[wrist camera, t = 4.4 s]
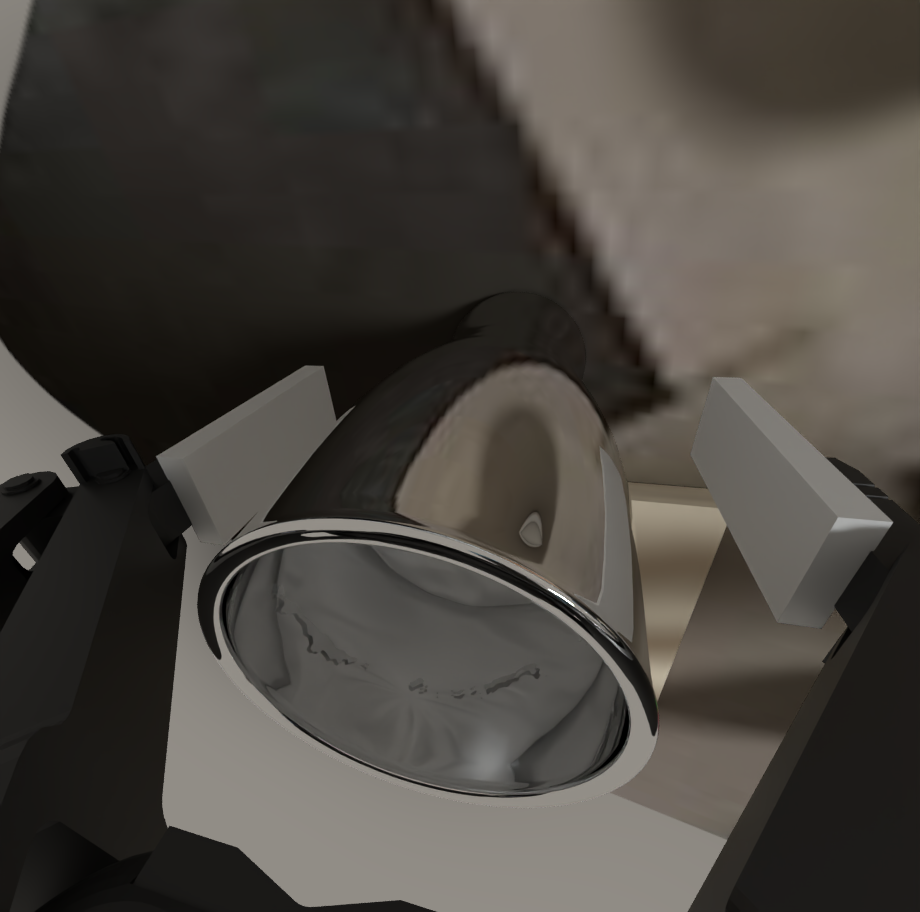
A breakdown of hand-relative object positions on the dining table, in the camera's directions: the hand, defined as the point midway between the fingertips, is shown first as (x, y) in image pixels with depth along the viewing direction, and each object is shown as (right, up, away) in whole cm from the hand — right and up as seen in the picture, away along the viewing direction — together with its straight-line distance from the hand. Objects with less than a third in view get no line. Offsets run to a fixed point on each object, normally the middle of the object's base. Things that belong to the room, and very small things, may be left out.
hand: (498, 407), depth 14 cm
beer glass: (+1, +3, +4) cm, 5 cm away
